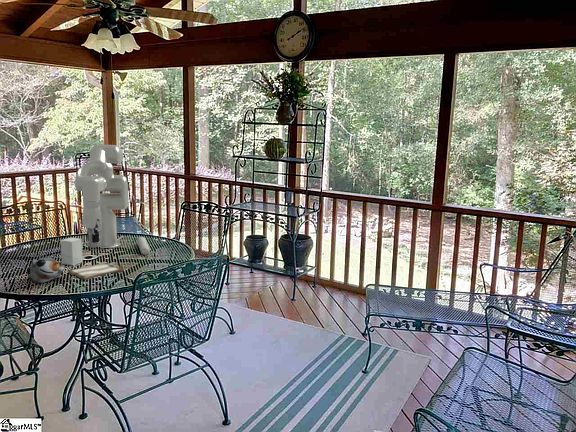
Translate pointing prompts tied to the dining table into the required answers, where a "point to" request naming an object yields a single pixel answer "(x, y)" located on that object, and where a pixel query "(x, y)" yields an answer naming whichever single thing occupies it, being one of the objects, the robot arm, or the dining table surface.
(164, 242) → the dining table surface
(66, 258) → the supplement box
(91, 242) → the marker
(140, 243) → the tube
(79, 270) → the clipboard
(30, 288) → the dining table surface
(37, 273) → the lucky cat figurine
